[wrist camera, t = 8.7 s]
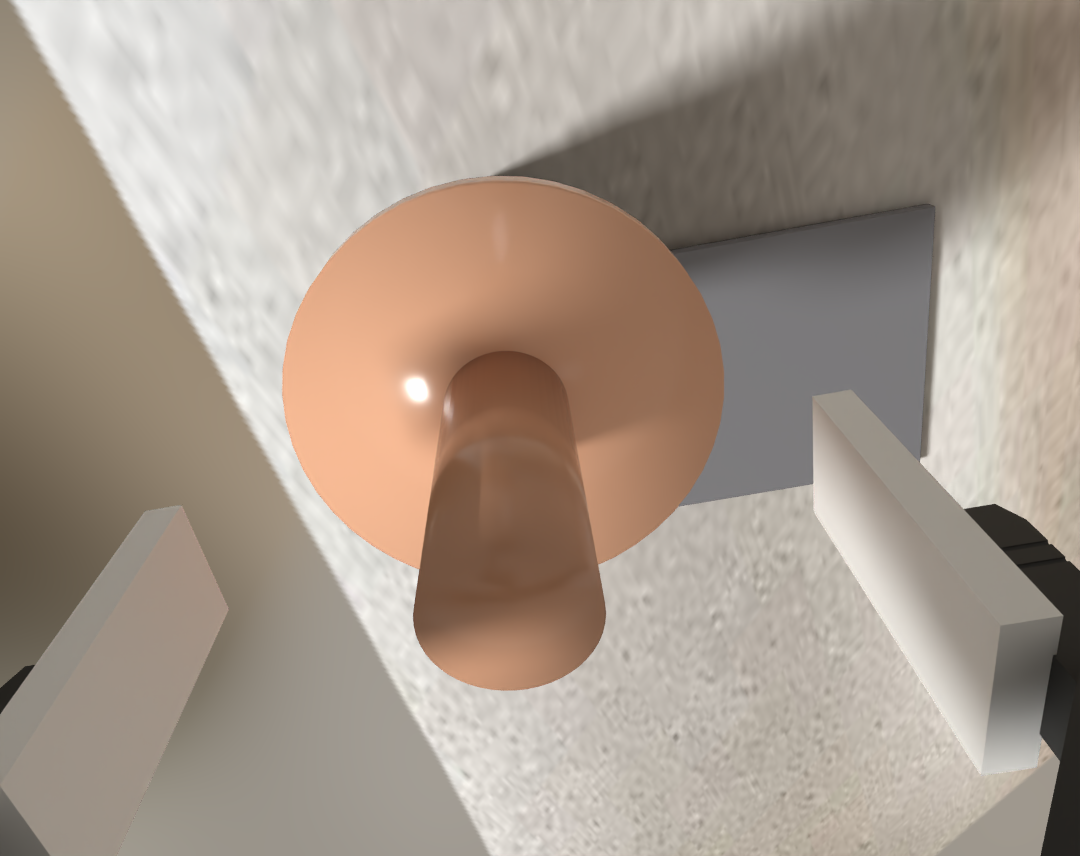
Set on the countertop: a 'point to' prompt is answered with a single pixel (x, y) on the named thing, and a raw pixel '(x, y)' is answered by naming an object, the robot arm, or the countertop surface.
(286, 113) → the countertop surface
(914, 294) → the mat
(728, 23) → the countertop surface
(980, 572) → the robot arm
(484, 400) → the lid
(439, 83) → the countertop surface
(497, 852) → the countertop surface
